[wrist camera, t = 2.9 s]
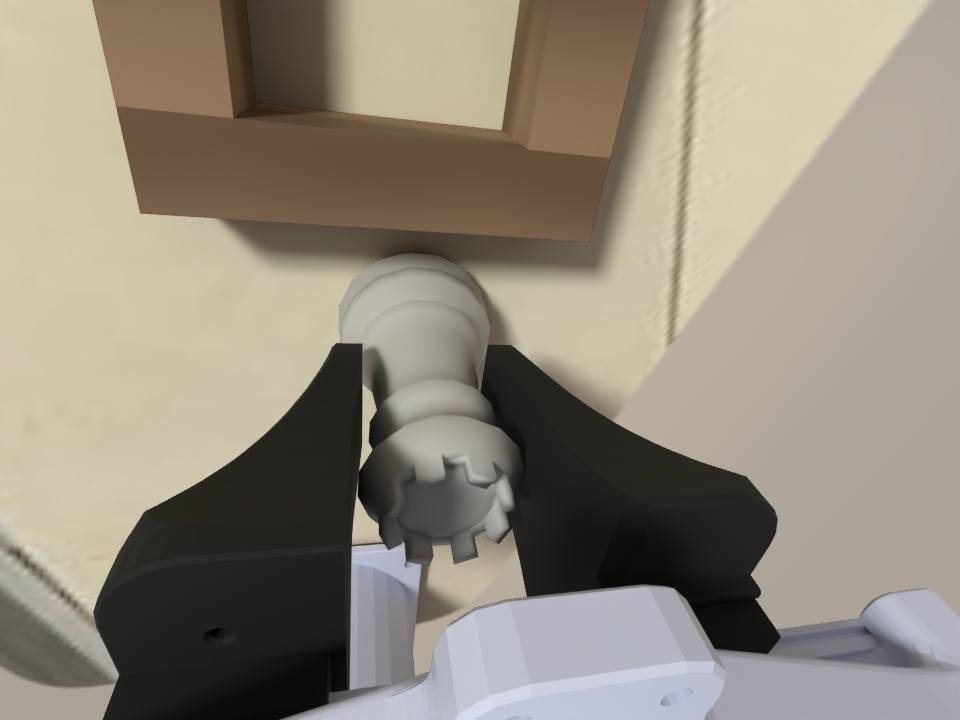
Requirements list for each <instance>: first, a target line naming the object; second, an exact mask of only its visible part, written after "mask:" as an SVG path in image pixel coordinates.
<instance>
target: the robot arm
mask: <svg viewBox="0 0 960 720" xmlns="http://www.w3.org/2000/svg"><path fill="white" fill-rule="evenodd" d="M362 372H363V343H336V344H335V345H334V346H333V347H332V348H331V351H330V353H329V355H328V357H327V359H326V361H325V362H324V364H323V366H322V367H321V369H320V370H319V372H318V373H317V375H316V376H315V378H314V379H313V380H312V382H311V383H310V385H309V386H308V388H307V389H306V390H305V392H304V393H303V394H302V395H301V396H300V398H299V399H298V400H297V401H296V402H295V404H294V405H293V406H292V407H291V408H290V410H289V411H288V412H287V413H286V414H285V415H284V416H283V417H282V418H281V419H280V420H279V421H278V422H277V423H276V424H275V425H274V426H273V427H272V428H271V429H270V430H269V431H268V432H267V433H266V434H265V435H264V436H262V437H261V438H260V439H259V440H258V441H257V442H255V443H254V444H253V445H252V446H251V447H249V448H248V449H247V450H246V451H245V452H243V453H242V454H241V455H240V456H238V457H237V458H236V459H234V460H233V461H231V462H230V463H228V464H227V465H226V466H224V467H223V468H221V469H220V470H218V471H217V472H215V473H213V474H212V475H210V476H209V477H207V478H205V479H204V480H202V481H201V482H199V483H197V484H196V485H194V486H192V487H190V488H189V489H187V490H185V491H183V492H181V493H179V494H177V495H176V496H174V497H172V498H170V499H168V500H166V501H164V502H163V503H161V504H159V505H157V506H155V507H153V508H151V509H149V510H147V511H145V512H144V513H143V515H142V516H141V518H140V520H139V521H138V523H137V524H136V526H135V527H134V529H133V531H132V532H131V534H130V535H129V537H128V538H127V540H126V541H125V543H124V545H123V546H122V548H121V550H120V551H119V553H118V555H117V557H116V559H115V561H114V564H113V566H112V568H111V570H110V572H109V574H108V577H107V579H106V581H105V583H104V585H103V587H102V590H101V592H100V594H99V596H98V599H97V602H96V605H95V608H94V611H93V613H94V618H95V623H96V627H97V629H98V631H99V634H100V636H101V638H102V640H103V642H104V644H105V646H106V648H107V650H108V652H109V654H110V657H111V659H112V661H113V663H114V665H115V667H116V669H117V671H118V673H119V677H118V680H117V683H116V685H115V688H114V691H113V694H112V696H111V699H110V701H109V704H108V707H107V710H106V712H105V715H104V718H103V720H960V617H959V616H958V615H957V614H956V613H955V612H954V611H953V610H952V609H951V608H950V607H949V606H948V605H947V604H946V603H945V602H944V601H943V600H942V599H941V598H940V597H939V596H938V595H937V594H936V593H935V592H934V591H933V590H932V589H929V588H920V589H911V590H905V591H897V592H889V593H886V594H882V595H880V596H879V597H877V598H875V599H874V600H872V601H871V602H870V603H869V604H868V605H867V606H866V607H865V608H864V610H863V611H862V612H861V614H860V618H856V619H848V620H841V621H834V622H827V623H820V624H814V625H806V626H800V627H792V628H785V629H777V630H776V628H775V627H774V626H773V624H772V623H771V621H770V620H769V618H768V617H767V615H766V614H765V612H764V611H763V610H762V608H761V607H760V605H759V604H758V602H757V601H756V600H755V598H759V596H760V595H761V591H760V588H759V587H758V585H757V584H756V582H755V581H754V579H753V578H752V577H751V573H752V572H753V570H754V569H755V567H756V565H757V564H758V562H759V561H760V559H761V558H762V556H763V555H764V553H765V552H766V550H767V549H768V547H769V546H770V544H771V542H772V540H773V538H774V536H775V533H776V528H777V521H778V519H777V516H776V513H775V510H774V509H773V507H772V506H771V505H770V504H769V503H768V501H767V500H766V499H765V498H764V497H763V496H762V494H761V493H760V492H759V491H758V490H757V489H756V487H755V486H754V485H753V484H752V483H751V481H750V480H749V479H748V478H747V477H746V476H742V475H740V474H737V473H733V472H730V471H727V470H724V469H721V468H717V467H715V466H712V465H708V464H705V463H702V462H699V461H697V460H694V459H691V458H689V457H686V456H684V455H681V454H679V453H676V452H674V451H671V450H669V449H666V448H664V447H662V446H660V445H657V444H655V443H653V442H651V441H649V440H647V439H645V438H643V437H641V436H639V435H637V434H635V433H633V432H631V431H629V430H627V429H625V428H623V427H621V426H620V425H618V424H616V423H614V422H613V421H611V420H609V419H608V418H606V417H604V416H603V415H601V414H599V413H598V412H596V411H595V410H593V409H592V408H590V407H589V406H587V405H586V404H584V403H583V402H582V401H580V400H579V399H577V398H576V397H575V396H573V395H572V394H570V393H569V392H568V391H566V390H565V389H564V388H563V387H561V386H560V385H559V384H557V383H556V382H555V381H554V380H553V379H551V378H550V377H549V376H548V375H546V374H545V373H544V372H543V371H542V370H540V369H539V368H538V367H537V366H536V365H535V364H533V363H532V362H531V361H530V360H529V359H528V358H526V357H525V356H524V355H523V354H522V353H520V352H519V351H518V350H517V349H515V348H514V347H513V346H511V345H488V349H487V355H486V362H485V368H484V374H483V380H482V387H481V394H482V395H483V396H484V397H485V398H486V399H487V400H488V401H489V402H490V403H491V404H492V408H493V411H494V415H495V418H496V422H497V423H496V427H498V428H500V429H501V430H502V431H503V432H504V433H505V434H506V435H507V436H508V437H509V438H510V439H511V440H512V441H513V442H514V443H515V444H516V445H517V446H518V448H519V451H520V455H521V459H522V463H523V467H524V470H523V474H522V477H521V481H520V484H519V488H518V491H517V493H516V495H515V496H514V499H515V502H516V505H517V509H518V510H513V511H508V513H509V517H510V520H511V524H512V527H513V532H514V537H515V541H516V546H517V550H518V555H519V559H520V564H521V569H522V574H523V579H524V584H525V589H526V594H527V597H524V598H514V599H506V600H502V601H498V602H495V603H491V604H487V605H483V606H479V607H476V608H474V609H472V610H471V611H469V612H467V613H466V614H464V615H463V616H461V617H460V618H458V619H457V620H455V621H453V622H452V623H450V624H449V626H448V627H447V628H446V629H445V631H444V633H443V634H442V636H441V637H440V639H439V641H438V642H437V644H436V646H435V647H434V650H433V656H432V663H431V669H430V672H427V673H424V674H421V675H418V676H415V673H414V662H413V642H414V633H415V624H416V614H417V605H418V595H419V586H420V577H421V567H422V565H421V564H416V563H411V562H406V557H405V545H404V542H402V544H401V545H399V546H397V547H395V548H393V549H391V550H389V551H388V549H387V548H386V546H385V544H376V545H363V546H352V530H353V517H354V509H355V500H356V492H357V483H358V475H359V466H360V458H361V449H362Z"/></svg>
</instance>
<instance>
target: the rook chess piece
mask: <svg viewBox="0 0 960 720" xmlns="http://www.w3.org/2000/svg"><path fill="white" fill-rule="evenodd" d="M339 333H340V335H341V340H340V343H363V372H362V383H363V384H364V385H365V386H366V387H367V388H368V389H369V390H370V391H371V392H372V393H373V397H374V401H375V405H376V408H377V411H376V413H375V415H374V416H373V418H372V420H371V421H370V430H369V443H370V445H371V447H372V449H373V450H372V452H371V454H370V455H369V457H368V458H367V460H366V462H365V463H364V465H363V466H362V468H361V470H360V471H359V479H358V498H359V500H360V502H361V503H362V505H363V507H364V509H365V510H366V512H367V514H368V516H369V517H370V518H371V519H373V520H374V521H375V522H377V523H378V524H379V535H380V537H381V539H382V541H383V542H384V544H385V546H386V548H387V549H388V551H389V550H391V549H393V548H395V547H397V546H399V545H401V544H402V540H403V541H404V545H405V557H406V562H411V563H416V564H421V565H425V566H429V565H430V563H431V561H432V559H433V550H432V546H436V545H451V549H452V555H453V561H454V564H457V563H460V562H463V561H466V560H470V559H473V558H476V557H478V553H477V548H476V544H475V539H474V537H475V536H477V535H478V534H480V533H481V532H483V531H485V530H486V533H487V537H488V539H489V540H491V541H493V542H495V543H498V544H499V543H500V542H501V541H502V540H503V538H504V537H505V536H506V535H507V534H508V532H509V531H510V530H511V529H512V528H513V527H512V524H511V521H510V517H509V514H508V511H513V510H518V509H517V505H516V502H515V499H514V496H515V495H516V493H517V491H518V488H519V484H520V481H521V477H522V474H523V470H524V467H523V463H522V459H521V455H520V451H519V448H518V446H517V445H516V444H515V443H514V442H513V441H512V440H511V439H510V438H509V437H508V436H507V435H506V434H505V433H504V432H503V431H502V430H501V429H500V428H498V427H496V423H497V422H496V418H495V415H494V411H493V408H492V404H491V403H490V402H489V401H488V400H487V399H486V398H485V397H484V396H483V395H482V394H481V393H480V392H479V391H478V381H477V373H478V371H479V370H480V365H481V364H482V362H483V361H484V359H485V356H486V351H487V346H488V341H489V336H490V324H489V320H488V316H487V312H486V308H485V304H484V301H483V297H482V293H481V289H480V288H479V287H478V285H477V284H476V283H475V282H474V281H473V279H472V278H471V277H470V276H469V275H468V273H467V272H466V271H465V270H464V268H462V267H460V266H458V265H456V264H454V263H452V262H450V261H448V260H446V259H444V258H442V257H440V256H438V255H432V254H420V253H408V252H405V253H402V254H399V255H395V256H392V257H389V258H385V259H382V260H379V261H376V262H374V263H373V264H372V265H371V266H369V267H368V268H367V269H366V270H364V271H363V272H362V273H361V274H359V275H358V276H357V277H356V278H354V279H353V280H352V282H351V284H350V286H349V288H348V290H347V292H346V293H345V295H344V297H343V299H342V301H341V303H340V305H339Z"/></svg>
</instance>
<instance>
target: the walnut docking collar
mask: <svg viewBox="0 0 960 720" xmlns="http://www.w3.org/2000/svg"><path fill="white" fill-rule="evenodd" d="M649 1H650V0H520V5H519V12H518V19H517V27H516V34H515V41H514V48H513V55H512V62H511V70H510V77H509V84H508V91H507V98H506V105H505V113H504V120H503V127H502V131H501V130H492V129H483V128H474V127H466V126H457V125H448V124H439V123H430V122H421V121H413V120H404V119H395V118H386V117H377V116H368V115H360V114H351V113H342V112H333V111H324V110H315V109H307V108H298V107H289V106H280V105H271V104H262V103H256V100H255V90H254V79H253V69H252V58H251V47H250V37H249V26H248V16H247V5H246V0H92V2H93V6H94V11H95V15H96V19H97V24H98V28H99V33H100V37H101V42H102V46H103V50H104V55H105V59H106V64H107V68H108V73H109V77H110V81H111V86H112V90H113V95H114V99H115V104H116V108H117V112H118V117H119V121H120V126H121V130H122V135H123V139H124V143H125V148H126V152H127V157H128V161H129V165H130V170H131V174H132V179H133V183H134V188H135V192H136V196H137V201H138V205H139V210H140V213H141V214H157V215H172V216H188V217H204V218H220V219H236V220H252V221H267V222H283V223H299V224H315V225H331V226H346V227H362V228H378V229H394V230H410V231H426V232H441V233H457V234H473V235H489V236H505V237H521V238H536V239H552V240H568V241H584V242H589V241H590V237H591V233H592V229H593V225H594V221H595V217H596V213H597V209H598V205H599V201H600V197H601V193H602V189H603V185H604V181H605V177H606V173H607V169H608V165H609V161H610V157H611V153H612V149H613V145H614V141H615V137H616V133H617V129H618V125H619V121H620V117H621V113H622V109H623V105H624V101H625V97H626V93H627V89H628V85H629V81H630V77H631V73H632V69H633V65H634V61H635V57H636V53H637V49H638V45H639V41H640V37H641V33H642V29H643V25H644V21H645V17H646V13H647V9H648V5H649Z"/></svg>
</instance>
